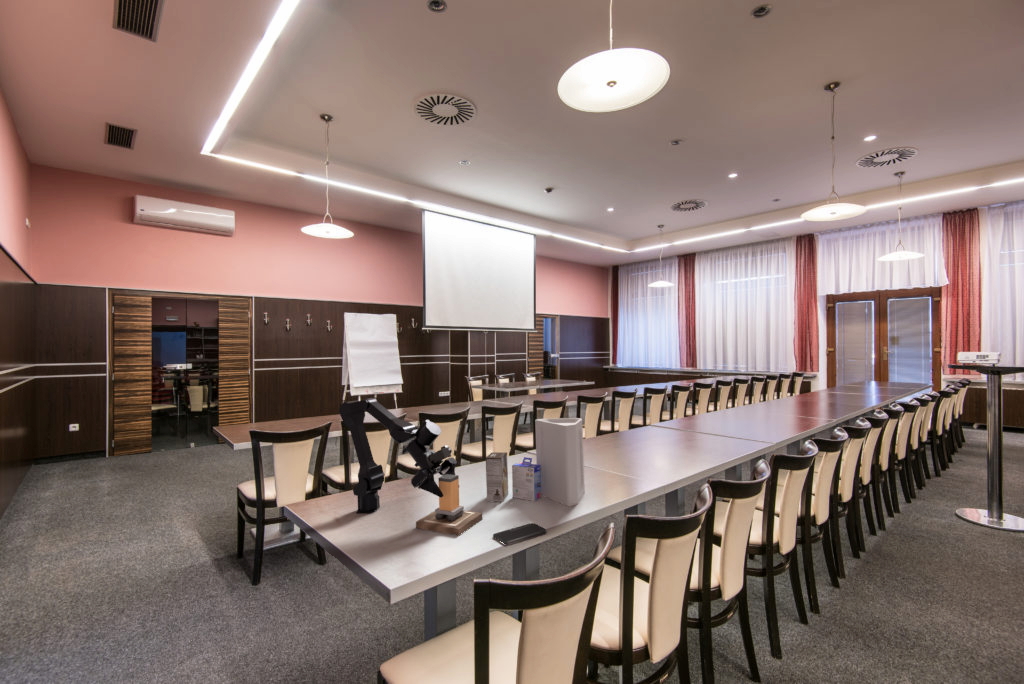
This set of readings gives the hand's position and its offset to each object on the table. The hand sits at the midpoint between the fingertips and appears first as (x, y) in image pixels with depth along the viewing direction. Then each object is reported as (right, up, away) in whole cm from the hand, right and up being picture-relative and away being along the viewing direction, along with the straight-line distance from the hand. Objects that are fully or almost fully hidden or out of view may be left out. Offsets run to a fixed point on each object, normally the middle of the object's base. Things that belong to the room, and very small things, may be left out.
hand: (450, 492), depth 144 cm
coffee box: (+14, -10, +24) cm, 30 cm away
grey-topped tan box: (0, -8, 0) cm, 8 cm away
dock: (0, -10, 0) cm, 10 cm away
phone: (+22, -10, -10) cm, 26 cm away
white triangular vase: (+40, -10, +24) cm, 48 cm away
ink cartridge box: (+25, -10, +23) cm, 36 cm away
